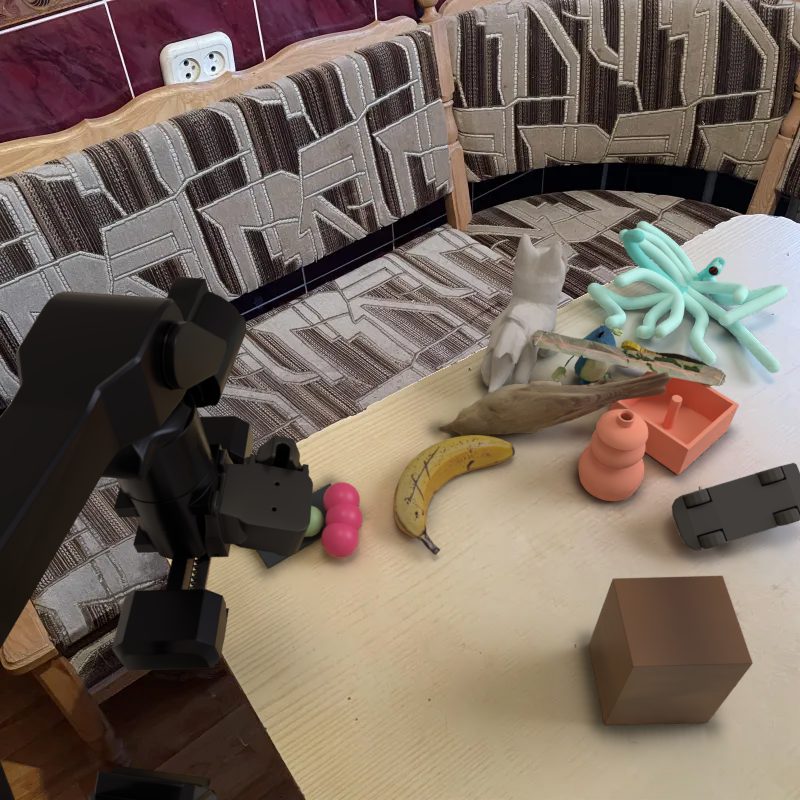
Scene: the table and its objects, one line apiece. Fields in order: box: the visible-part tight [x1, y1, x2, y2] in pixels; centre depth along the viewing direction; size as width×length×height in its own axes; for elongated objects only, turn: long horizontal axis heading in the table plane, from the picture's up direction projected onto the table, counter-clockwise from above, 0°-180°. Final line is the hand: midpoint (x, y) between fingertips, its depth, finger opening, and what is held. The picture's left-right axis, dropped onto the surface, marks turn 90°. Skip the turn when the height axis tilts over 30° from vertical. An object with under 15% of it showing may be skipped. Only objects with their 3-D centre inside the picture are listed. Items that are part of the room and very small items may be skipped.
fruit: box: [392, 435, 516, 556], centre depth 77 cm, size 15×9×3 cm, turn 135°
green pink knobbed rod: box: [304, 481, 363, 559], centre depth 74 cm, size 15×8×4 cm, turn 90°
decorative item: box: [618, 340, 714, 387], centre depth 86 cm, size 11×1×5 cm, turn 68°
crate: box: [588, 575, 754, 726], centre depth 60 cm, size 8×7×12 cm
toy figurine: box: [551, 324, 624, 386], centre depth 86 cm, size 12×4×8 cm, turn 131°
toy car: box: [671, 462, 800, 551], centre depth 73 cm, size 6×13×5 cm
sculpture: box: [438, 372, 671, 436], centre depth 80 cm, size 6×25×5 cm
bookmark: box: [533, 330, 727, 387], centre depth 82 cm, size 3×21×1 cm, turn 81°
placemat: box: [256, 482, 332, 569], centre depth 76 cm, size 10×5×1 cm, turn 125°
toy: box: [480, 233, 571, 395], centre depth 85 cm, size 6×19×15 cm, turn 150°
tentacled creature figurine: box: [587, 220, 789, 374], centre depth 93 cm, size 25×14×18 cm
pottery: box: [577, 371, 740, 502], centre depth 78 cm, size 18×10×10 cm, turn 131°
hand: (216, 590), depth 58 cm, fingers open, 9 cm apart
